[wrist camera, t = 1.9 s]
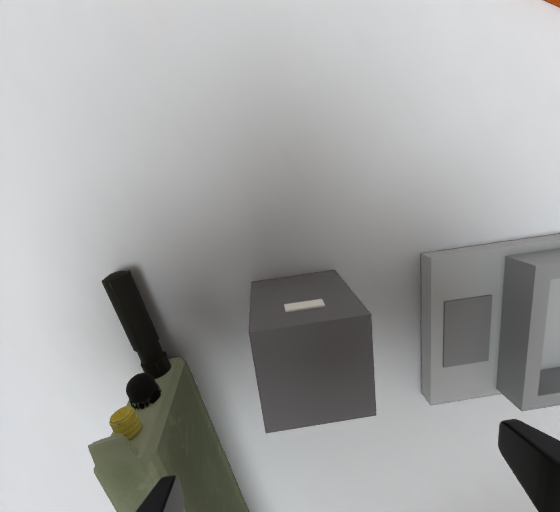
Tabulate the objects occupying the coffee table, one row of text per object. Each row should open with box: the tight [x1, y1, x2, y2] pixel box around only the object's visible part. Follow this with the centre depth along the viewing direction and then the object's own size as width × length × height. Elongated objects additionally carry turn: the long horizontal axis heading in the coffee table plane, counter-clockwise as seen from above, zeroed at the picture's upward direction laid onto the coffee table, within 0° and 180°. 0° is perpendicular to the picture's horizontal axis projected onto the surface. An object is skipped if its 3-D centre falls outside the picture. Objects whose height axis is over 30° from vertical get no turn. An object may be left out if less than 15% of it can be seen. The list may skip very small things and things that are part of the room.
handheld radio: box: [88, 271, 249, 512], centre depth 16 cm, size 7×3×25 cm
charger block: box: [249, 270, 376, 433], centre depth 14 cm, size 5×4×6 cm
